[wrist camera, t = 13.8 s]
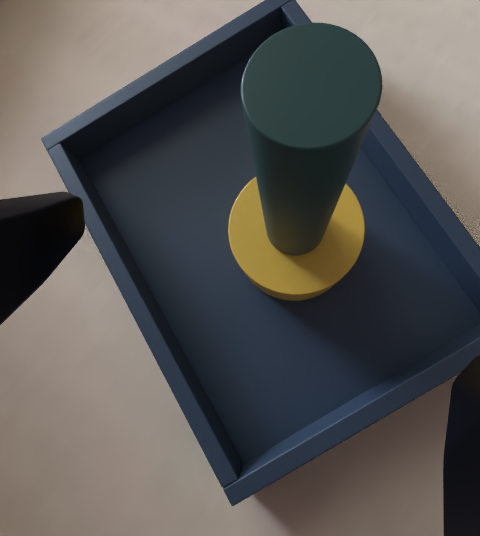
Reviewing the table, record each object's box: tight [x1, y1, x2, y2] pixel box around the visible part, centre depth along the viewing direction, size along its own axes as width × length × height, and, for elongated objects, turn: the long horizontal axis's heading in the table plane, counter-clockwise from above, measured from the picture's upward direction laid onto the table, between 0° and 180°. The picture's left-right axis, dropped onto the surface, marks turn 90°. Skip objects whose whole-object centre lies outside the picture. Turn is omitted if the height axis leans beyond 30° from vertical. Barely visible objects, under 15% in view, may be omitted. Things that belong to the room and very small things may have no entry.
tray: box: [41, 0, 480, 506], centre depth 19 cm, size 20×15×3 cm
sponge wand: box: [228, 23, 382, 301], centre depth 13 cm, size 6×6×13 cm
